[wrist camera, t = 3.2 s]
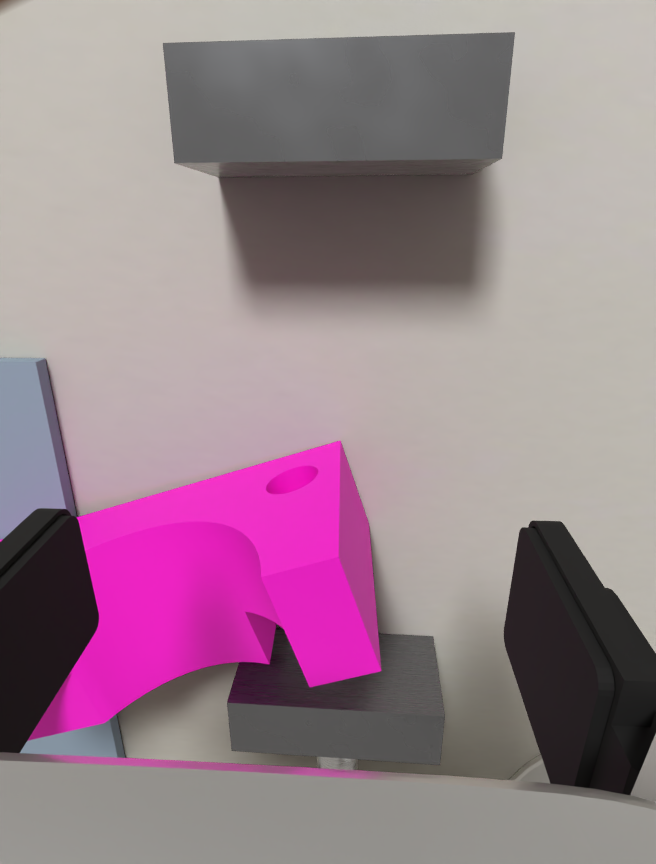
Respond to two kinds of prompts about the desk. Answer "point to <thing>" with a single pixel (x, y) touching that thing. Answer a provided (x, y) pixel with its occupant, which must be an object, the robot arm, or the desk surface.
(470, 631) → the desk surface
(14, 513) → the rubber mat
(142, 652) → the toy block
